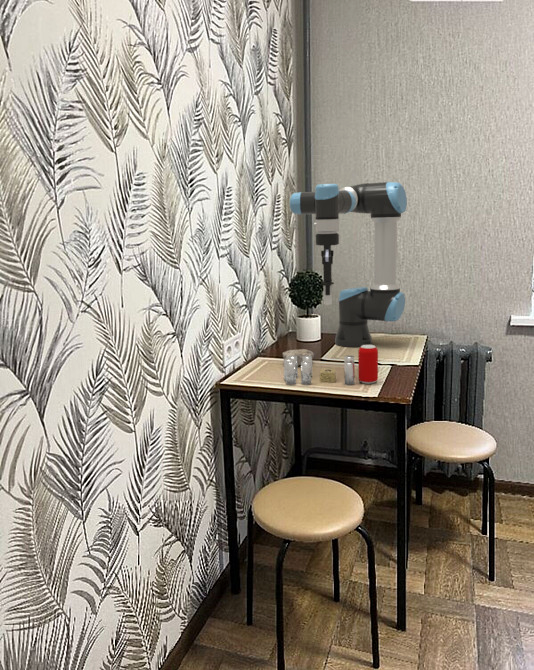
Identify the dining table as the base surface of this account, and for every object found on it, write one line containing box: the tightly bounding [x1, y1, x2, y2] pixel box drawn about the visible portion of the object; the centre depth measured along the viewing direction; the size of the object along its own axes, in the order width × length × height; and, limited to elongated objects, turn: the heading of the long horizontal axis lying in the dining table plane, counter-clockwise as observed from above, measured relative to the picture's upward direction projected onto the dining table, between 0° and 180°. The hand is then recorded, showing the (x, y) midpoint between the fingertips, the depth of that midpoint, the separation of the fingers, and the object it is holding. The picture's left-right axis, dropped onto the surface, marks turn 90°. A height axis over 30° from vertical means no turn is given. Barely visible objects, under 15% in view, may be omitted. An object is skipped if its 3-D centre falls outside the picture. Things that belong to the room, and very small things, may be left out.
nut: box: [319, 368, 337, 383], centre depth 204 cm, size 5×5×4 cm
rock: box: [282, 348, 315, 367], centre depth 225 cm, size 11×11×6 cm
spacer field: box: [283, 355, 356, 386], centre depth 204 cm, size 11×28×7 cm, turn 83°
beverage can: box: [357, 344, 379, 385], centre depth 199 cm, size 6×6×12 cm
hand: (327, 304), depth 205 cm, fingers closed
